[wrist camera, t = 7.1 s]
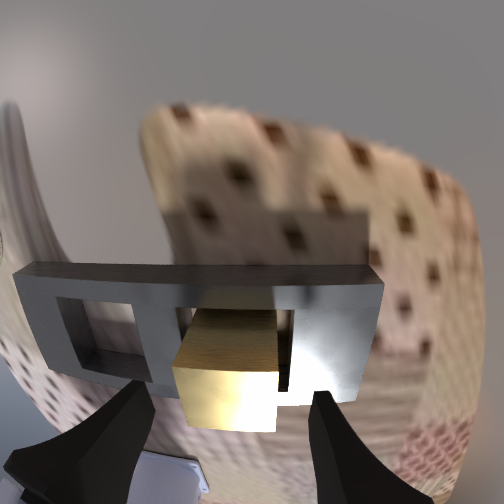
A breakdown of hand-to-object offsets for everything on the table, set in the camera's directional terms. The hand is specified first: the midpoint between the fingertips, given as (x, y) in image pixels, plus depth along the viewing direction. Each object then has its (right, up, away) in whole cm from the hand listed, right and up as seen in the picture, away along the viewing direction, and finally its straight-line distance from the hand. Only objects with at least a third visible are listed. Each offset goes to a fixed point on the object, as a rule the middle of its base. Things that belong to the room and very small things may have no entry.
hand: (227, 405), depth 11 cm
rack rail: (-4, +2, +6) cm, 7 cm away
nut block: (0, +2, +5) cm, 6 cm away
